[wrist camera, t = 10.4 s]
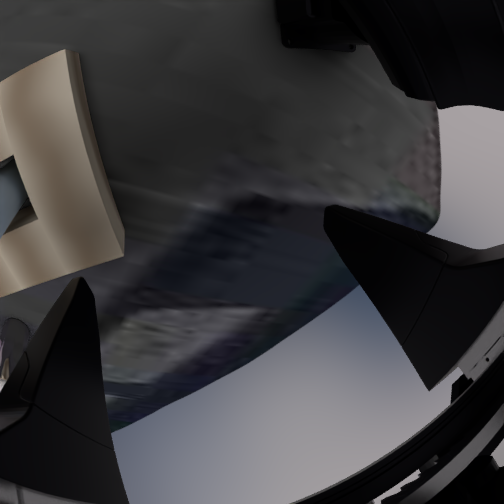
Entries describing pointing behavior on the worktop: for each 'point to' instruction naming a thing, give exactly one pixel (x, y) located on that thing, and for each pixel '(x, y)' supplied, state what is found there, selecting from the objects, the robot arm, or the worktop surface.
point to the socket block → (54, 177)
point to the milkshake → (11, 347)
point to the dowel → (10, 194)
